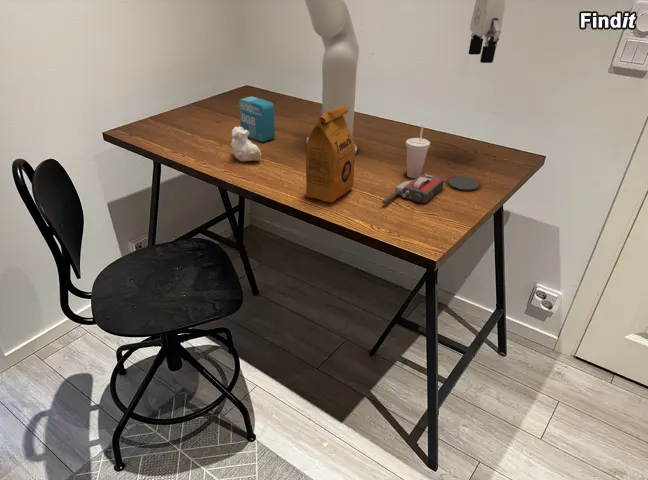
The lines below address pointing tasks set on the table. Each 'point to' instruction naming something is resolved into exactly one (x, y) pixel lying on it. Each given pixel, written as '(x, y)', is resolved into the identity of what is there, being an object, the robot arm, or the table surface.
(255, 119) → the data package
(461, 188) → the coaster
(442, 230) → the table surface
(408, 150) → the smoothie
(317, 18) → the robot arm
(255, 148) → the white animal figurine
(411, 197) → the walkie-talkie
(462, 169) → the table surface
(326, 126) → the coffee package
